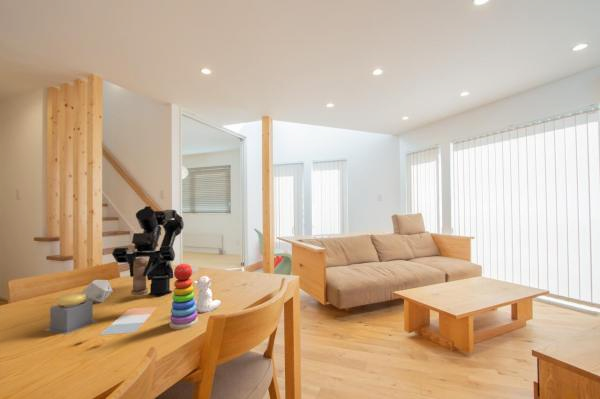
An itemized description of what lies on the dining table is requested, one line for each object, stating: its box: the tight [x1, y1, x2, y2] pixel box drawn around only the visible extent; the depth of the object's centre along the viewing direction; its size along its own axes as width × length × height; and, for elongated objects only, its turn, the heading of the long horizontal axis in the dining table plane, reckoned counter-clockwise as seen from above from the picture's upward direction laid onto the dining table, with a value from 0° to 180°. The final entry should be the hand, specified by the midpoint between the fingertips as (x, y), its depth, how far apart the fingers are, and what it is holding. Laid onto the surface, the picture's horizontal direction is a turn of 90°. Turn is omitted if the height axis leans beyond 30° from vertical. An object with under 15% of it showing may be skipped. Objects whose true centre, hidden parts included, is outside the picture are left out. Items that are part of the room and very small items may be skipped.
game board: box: [98, 306, 158, 336], centre depth 85 cm, size 20×9×1 cm, turn 10°
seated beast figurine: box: [193, 275, 222, 313], centre depth 95 cm, size 10×9×12 cm
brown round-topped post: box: [130, 257, 149, 296], centre depth 91 cm, size 5×5×12 cm
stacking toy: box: [168, 263, 199, 330], centre depth 83 cm, size 8×8×19 cm
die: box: [82, 279, 114, 304], centre depth 104 cm, size 8×9×10 cm
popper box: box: [44, 300, 99, 335], centre depth 81 cm, size 9×9×7 cm
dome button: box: [57, 292, 87, 308], centre depth 81 cm, size 6×6×7 cm
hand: (138, 276), depth 90 cm, fingers closed on brown round-topped post, 4 cm apart
